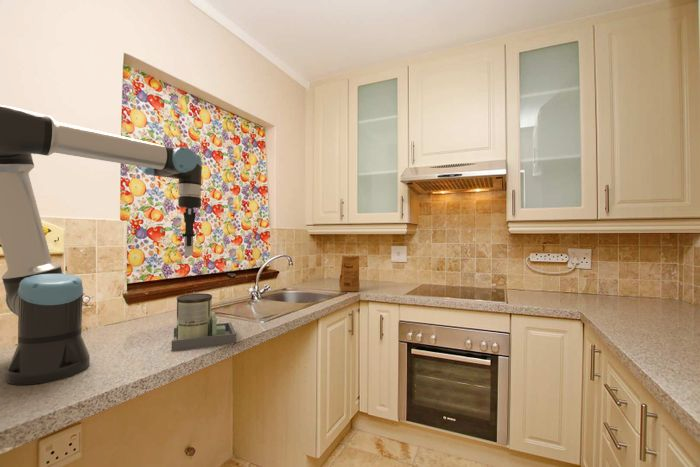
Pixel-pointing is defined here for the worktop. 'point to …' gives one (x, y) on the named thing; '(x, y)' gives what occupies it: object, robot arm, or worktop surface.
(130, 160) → the robot arm
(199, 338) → the grey tray
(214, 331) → the pusher
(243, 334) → the worktop surface
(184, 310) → the coffee can
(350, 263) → the coffee package
